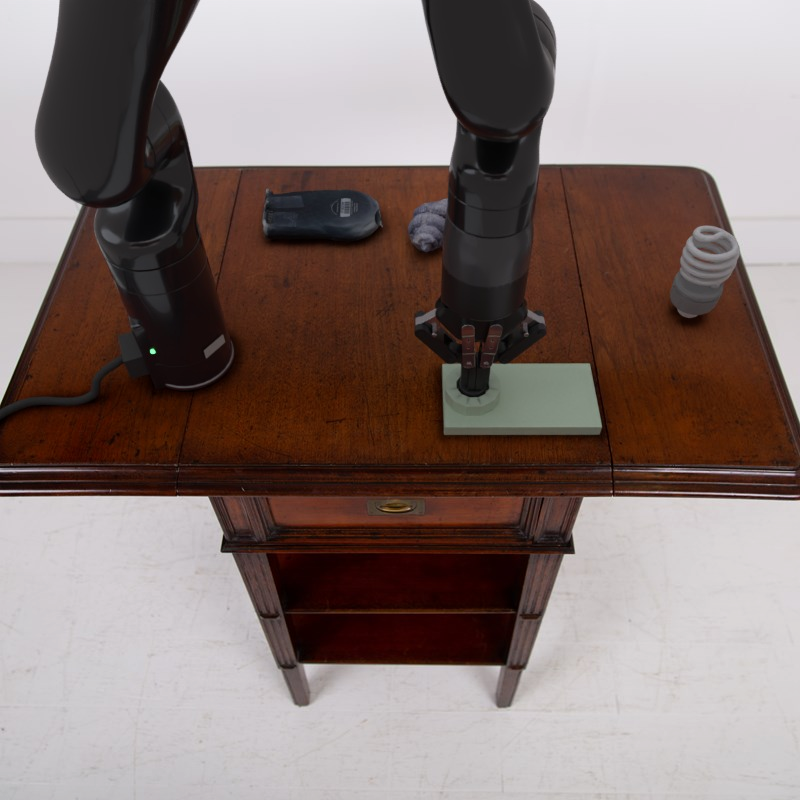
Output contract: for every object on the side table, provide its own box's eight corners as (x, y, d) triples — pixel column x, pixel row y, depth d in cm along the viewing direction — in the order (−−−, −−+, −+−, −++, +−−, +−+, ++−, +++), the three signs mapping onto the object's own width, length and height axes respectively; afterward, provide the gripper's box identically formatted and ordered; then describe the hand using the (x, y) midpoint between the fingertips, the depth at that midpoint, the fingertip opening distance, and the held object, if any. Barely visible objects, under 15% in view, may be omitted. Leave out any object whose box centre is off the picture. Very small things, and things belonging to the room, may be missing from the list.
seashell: (434, 221, 102) (421, 272, 96) (410, 192, 99) (395, 243, 93) (466, 204, 98) (455, 256, 93) (442, 174, 95) (429, 226, 90)
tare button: (459, 403, 79) (459, 394, 77) (458, 382, 80) (458, 373, 79) (486, 403, 78) (487, 394, 77) (484, 382, 80) (485, 373, 79)
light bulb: (715, 306, 89) (751, 224, 80) (706, 338, 86) (742, 257, 76) (667, 293, 91) (696, 211, 81) (656, 324, 87) (685, 242, 78)
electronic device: (268, 259, 97) (383, 242, 96) (256, 222, 94) (375, 203, 92) (275, 222, 104) (382, 205, 103) (264, 185, 100) (375, 167, 99)
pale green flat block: (443, 435, 78) (444, 417, 76) (441, 371, 83) (442, 353, 81) (599, 435, 78) (605, 417, 75) (587, 371, 83) (592, 353, 81)
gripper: (408, 284, 62) (410, 412, 76) (569, 283, 62) (542, 412, 76) (408, 226, 67) (410, 356, 81) (558, 225, 67) (534, 356, 80)
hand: (474, 383), depth 78 cm, fingers closed
